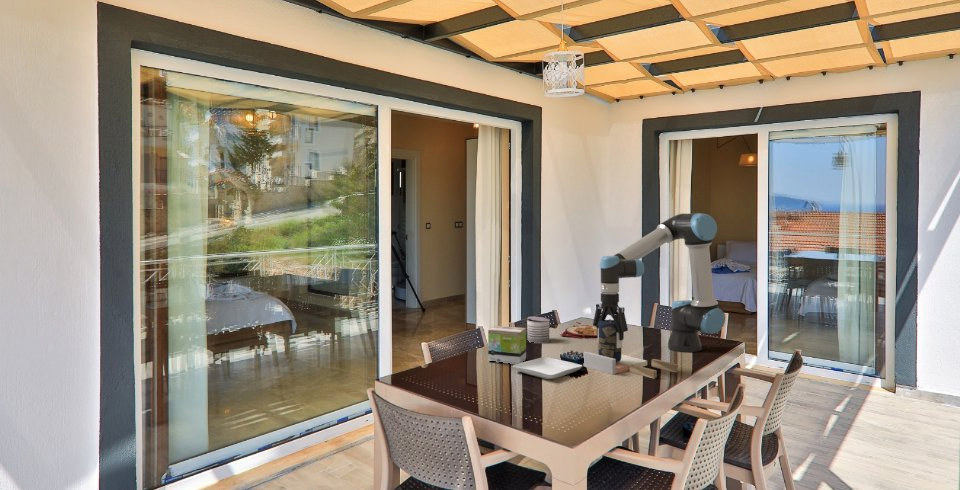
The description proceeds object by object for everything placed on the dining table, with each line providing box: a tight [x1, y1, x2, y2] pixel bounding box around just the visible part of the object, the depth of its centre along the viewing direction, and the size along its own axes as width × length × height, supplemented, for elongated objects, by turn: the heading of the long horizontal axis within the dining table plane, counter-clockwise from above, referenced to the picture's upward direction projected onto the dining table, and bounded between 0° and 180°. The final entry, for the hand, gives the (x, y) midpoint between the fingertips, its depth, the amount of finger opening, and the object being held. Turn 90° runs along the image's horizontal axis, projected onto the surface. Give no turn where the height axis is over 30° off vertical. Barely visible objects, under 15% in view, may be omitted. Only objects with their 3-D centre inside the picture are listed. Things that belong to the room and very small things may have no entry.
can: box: [526, 316, 550, 344], centre depth 293 cm, size 11×11×12 cm
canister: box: [597, 318, 622, 362], centre depth 241 cm, size 10×10×18 cm
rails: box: [629, 358, 679, 380], centre depth 234 cm, size 16×12×3 cm
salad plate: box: [512, 356, 583, 380], centre depth 236 cm, size 21×21×3 cm
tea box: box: [487, 325, 527, 365], centre depth 254 cm, size 15×10×15 cm, turn 70°
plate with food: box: [559, 321, 598, 340], centre depth 309 cm, size 25×26×4 cm
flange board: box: [582, 351, 648, 375], centre depth 244 cm, size 22×16×6 cm
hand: (609, 345), depth 242 cm, fingers closed on canister, 10 cm apart
